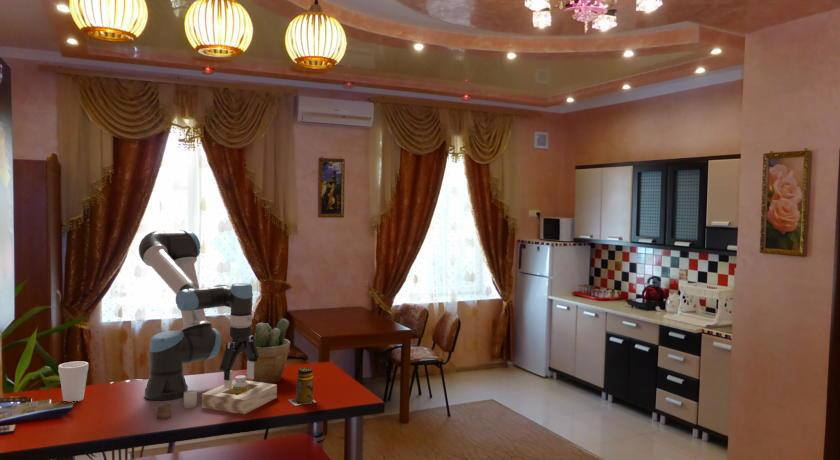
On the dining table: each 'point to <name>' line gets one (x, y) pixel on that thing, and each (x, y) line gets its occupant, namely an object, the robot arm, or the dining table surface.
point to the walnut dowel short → (163, 411)
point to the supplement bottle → (240, 385)
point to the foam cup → (73, 380)
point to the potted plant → (270, 351)
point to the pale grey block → (190, 399)
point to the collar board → (239, 397)
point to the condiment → (304, 387)
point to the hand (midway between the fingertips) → (239, 383)
